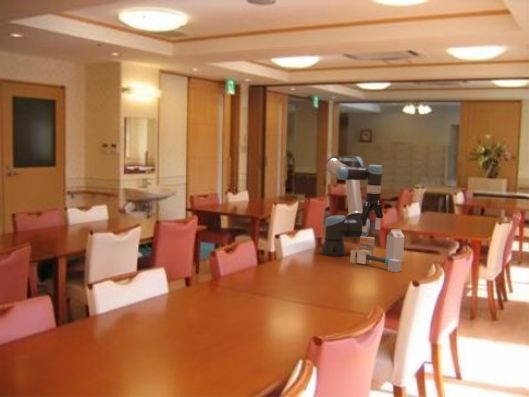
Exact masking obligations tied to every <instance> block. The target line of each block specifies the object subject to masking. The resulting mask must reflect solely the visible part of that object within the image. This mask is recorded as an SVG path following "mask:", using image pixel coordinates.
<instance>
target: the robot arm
mask: <svg viewBox="0 0 529 397" xmlns="http://www.w3.org/2000/svg"><path fill="white" fill-rule="evenodd" d="M364 164H365V163H364V161H363V159H362V157H360V156H355V155H352V156H351V155H350V156H349V155H346V156H345V155H333V156H331V157H329V158H328V159H327V160H326V161H325V165H324V167H325V170H326V171H327V172H328V173H330V174H331V175H332V174H333V175H336V177H337V178H336V179H337V180H343V181H345V187H346V188H345V189H346V199H347V200H346V201H347V208H348V214H347V215H346V216H345V215H343V214H342V215H339V214H337V215H331V216H328V217H326V218H325V223H324V226H325V228H324V241H323V244H322V247H321V249H320V254H322V255H324V256H326V257H327V256H328V257H346V256H347V250H346V249H347V248H346V246H345V238H353V239H355V238H358V239H360V237H361V236H364V237H368V235H369V233H370V228H371V222H370V221H371V220H370V219H369V216H370V215H371V212H373V211H374V213H375V216H376V217H375V226H374V230H378V231H381V219H383V217H384V213H383V209H382V201H381V190H382V177H383V166H382V165H380V164H369V165H368V166H365V165H364ZM360 181H366V182H367V184H366V200H367V201H365V202H364V205H363V202H362V192H361V182H360Z"/></svg>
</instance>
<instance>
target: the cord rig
mask: <svg viewBox="0 0 529 397" xmlns="http://www.w3.org/2000/svg"><path fill="white" fill-rule="evenodd" d="M358 250H359V249H354V250H353V249H350V255H349V256H350V258H349V259H350V260H349V263H350V264H353V265H354V264H358V263H357V251H358ZM366 259H368V260H371V261H372V262H379V263H384V264H385V266H387V272H392V273H399V272H401V269H402V262H401V260H398V259H391V258H389V257H387V258H386V257H379V256H376V255H373V256H370V255H366Z"/></svg>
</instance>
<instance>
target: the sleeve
mask: <svg viewBox="0 0 529 397" xmlns="http://www.w3.org/2000/svg"><path fill="white" fill-rule="evenodd" d="M357 250H358V251H357V263H356V264H363V265H366V263H369V264H371V262H372V260H368V259H366V255H370V256H371V252H372V251H370V250H365V249H363V250H359V249H357Z"/></svg>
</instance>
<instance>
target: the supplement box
mask: <svg viewBox="0 0 529 397" xmlns="http://www.w3.org/2000/svg"><path fill="white" fill-rule="evenodd" d="M375 238H376V237H371V236H366V237H364V236H361V237H360V238H359V245H358V246H359V248H358V250H363V249H365V250H370V251H372V252H371V256H374V253H375V241H376V239H375Z"/></svg>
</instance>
